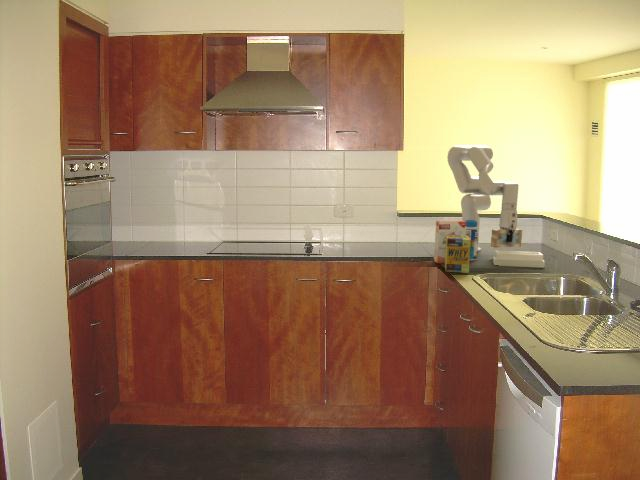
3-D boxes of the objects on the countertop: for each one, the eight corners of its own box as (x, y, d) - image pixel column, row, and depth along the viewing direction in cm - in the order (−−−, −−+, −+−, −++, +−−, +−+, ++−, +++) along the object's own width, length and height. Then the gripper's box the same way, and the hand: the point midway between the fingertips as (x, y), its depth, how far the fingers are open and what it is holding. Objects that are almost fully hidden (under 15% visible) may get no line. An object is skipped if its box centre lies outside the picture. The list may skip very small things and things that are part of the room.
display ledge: (494, 265, 295) (495, 253, 294) (492, 262, 304) (493, 250, 303) (544, 267, 290) (545, 255, 289) (540, 264, 300) (541, 252, 299)
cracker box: (437, 263, 298) (438, 221, 295) (433, 261, 304) (435, 220, 301) (465, 263, 299) (466, 221, 296) (460, 261, 305) (462, 220, 302)
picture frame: (495, 247, 314) (496, 230, 312) (490, 246, 318) (491, 229, 316) (521, 246, 319) (522, 229, 317) (515, 245, 323) (517, 228, 322)
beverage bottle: (457, 258, 314) (458, 220, 311) (470, 257, 317) (472, 219, 314) (466, 261, 306) (468, 221, 303) (480, 260, 309) (482, 221, 306)
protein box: (445, 272, 277) (447, 238, 275) (444, 266, 292) (445, 234, 290) (469, 273, 275) (470, 239, 273) (467, 267, 290) (468, 235, 288)
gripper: (524, 208, 308) (521, 243, 311) (506, 204, 324) (504, 238, 327) (511, 208, 306) (508, 244, 309) (494, 204, 322) (491, 238, 325)
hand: (506, 240), depth 318 cm, fingers closed on picture frame, 4 cm apart
